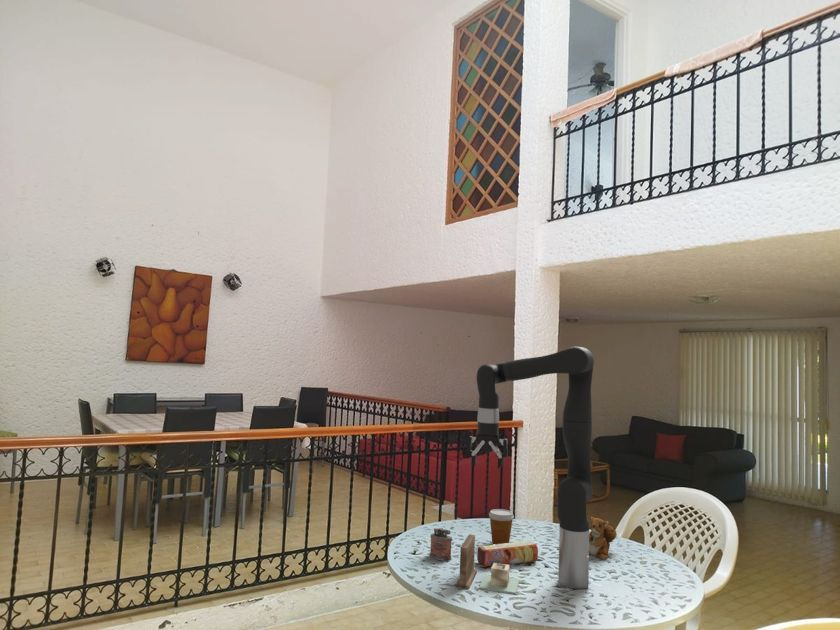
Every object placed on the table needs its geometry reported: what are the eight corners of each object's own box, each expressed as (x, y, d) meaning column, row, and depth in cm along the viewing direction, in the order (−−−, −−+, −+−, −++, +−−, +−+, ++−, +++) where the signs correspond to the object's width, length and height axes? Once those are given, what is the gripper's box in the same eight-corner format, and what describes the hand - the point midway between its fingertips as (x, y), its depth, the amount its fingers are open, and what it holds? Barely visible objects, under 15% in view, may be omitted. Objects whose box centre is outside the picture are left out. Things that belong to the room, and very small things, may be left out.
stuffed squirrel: (576, 553, 207) (577, 517, 208) (596, 546, 216) (596, 511, 217) (601, 561, 200) (602, 523, 201) (620, 553, 209) (621, 517, 210)
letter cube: (509, 581, 176) (509, 564, 177) (507, 587, 172) (507, 570, 172) (493, 578, 178) (493, 562, 178) (490, 584, 173) (491, 567, 173)
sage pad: (519, 580, 179) (519, 579, 179) (515, 594, 168) (515, 592, 168) (485, 575, 182) (485, 574, 182) (479, 588, 171) (479, 587, 171)
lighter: (427, 556, 197) (429, 527, 198) (432, 554, 200) (433, 525, 201) (448, 561, 193) (449, 531, 194) (452, 558, 196) (453, 529, 197)
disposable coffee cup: (483, 541, 216) (484, 509, 217) (504, 539, 220) (504, 507, 221) (496, 549, 207) (497, 516, 208) (518, 547, 211) (519, 514, 212)
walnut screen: (476, 572, 184) (478, 535, 185) (468, 589, 170) (470, 548, 171) (464, 571, 185) (466, 533, 186) (455, 587, 171) (457, 546, 172)
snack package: (483, 569, 188) (484, 548, 188) (475, 562, 194) (476, 542, 195) (538, 564, 195) (539, 544, 195) (528, 557, 201) (529, 538, 202)
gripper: (509, 421, 200) (508, 467, 198) (470, 418, 203) (468, 464, 202) (507, 423, 192) (505, 471, 191) (466, 420, 196) (464, 467, 195)
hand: (486, 467), depth 197 cm, fingers open, 8 cm apart
